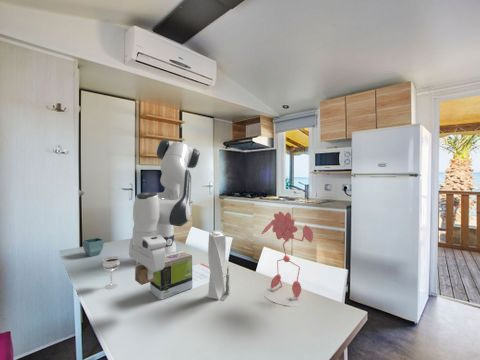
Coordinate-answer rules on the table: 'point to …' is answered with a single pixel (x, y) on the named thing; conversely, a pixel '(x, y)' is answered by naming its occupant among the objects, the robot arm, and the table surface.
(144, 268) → the walnut cube
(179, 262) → the tea box
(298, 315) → the table surface
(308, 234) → the figurine
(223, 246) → the skyscraper
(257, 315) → the table surface
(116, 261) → the wineglass
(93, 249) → the flower pot
